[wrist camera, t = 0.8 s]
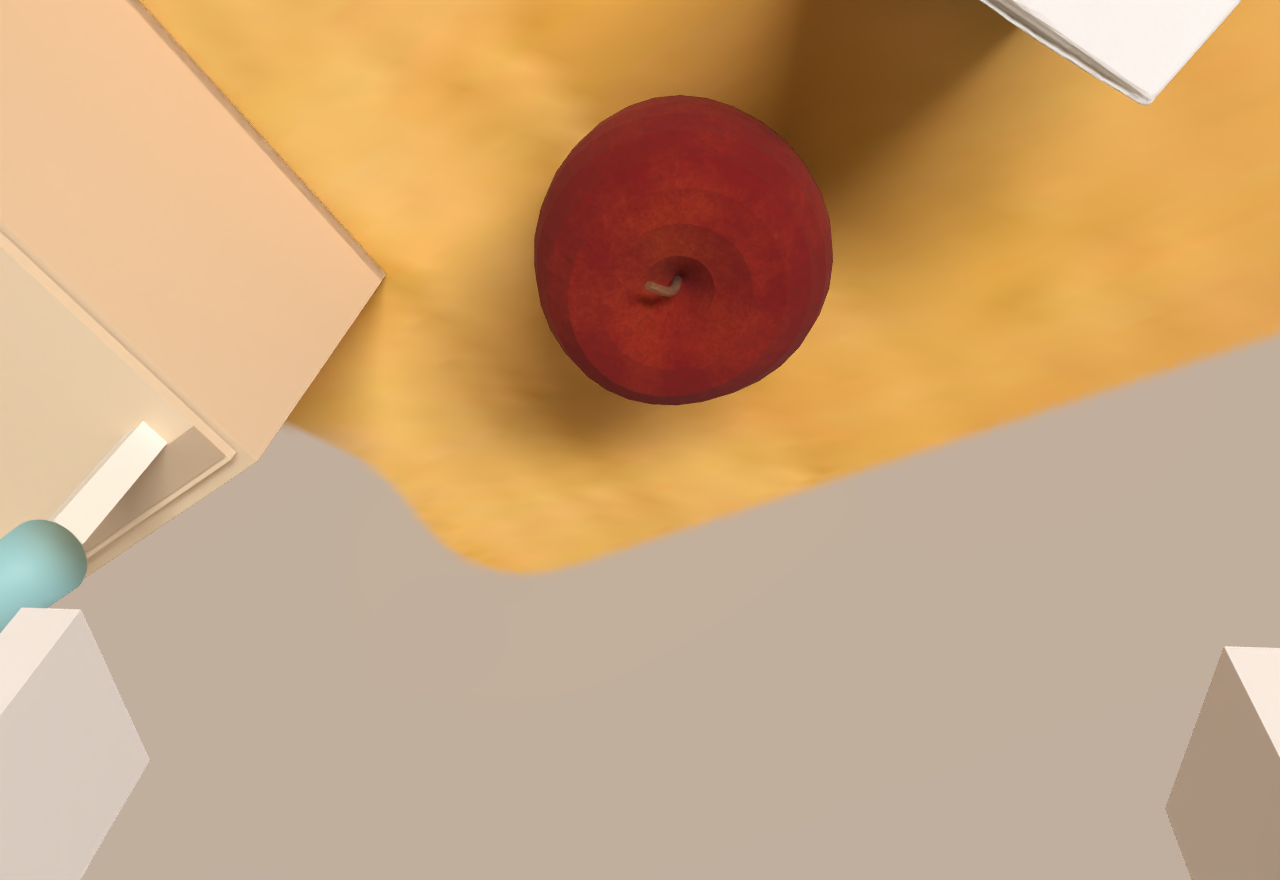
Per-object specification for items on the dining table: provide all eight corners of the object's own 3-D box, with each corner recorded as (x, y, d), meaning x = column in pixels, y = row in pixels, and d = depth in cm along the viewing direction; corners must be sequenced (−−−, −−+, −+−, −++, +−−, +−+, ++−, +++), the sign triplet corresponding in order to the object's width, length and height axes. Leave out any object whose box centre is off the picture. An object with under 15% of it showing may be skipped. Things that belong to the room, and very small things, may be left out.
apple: (877, 149, 38) (910, 268, 29) (727, 347, 43) (720, 497, 34) (648, -1, 36) (615, 80, 27) (519, 226, 40) (457, 353, 32)
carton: (-126, 116, 40) (-447, 256, 30) (58, -88, 36) (-244, -10, 25) (194, 414, 47) (24, 618, 36) (386, 274, 42) (257, 461, 31)
